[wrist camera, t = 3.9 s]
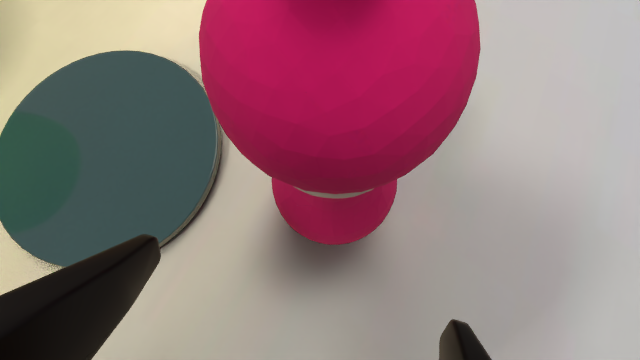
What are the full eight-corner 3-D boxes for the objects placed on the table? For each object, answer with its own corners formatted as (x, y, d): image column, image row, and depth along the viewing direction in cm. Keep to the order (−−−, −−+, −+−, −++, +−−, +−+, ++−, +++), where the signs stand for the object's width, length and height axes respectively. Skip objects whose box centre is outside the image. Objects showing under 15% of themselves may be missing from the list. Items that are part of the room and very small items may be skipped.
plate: (259, 199, 23) (255, 195, 22) (37, 313, 21) (20, 316, 20) (177, 28, 27) (170, 17, 26) (-14, 114, 25) (-31, 107, 24)
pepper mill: (264, 188, 23) (-104, -196, 4) (341, 131, 24) (381, -426, 4) (324, 268, 21) (250, 369, 2) (404, 205, 22) (895, -161, 3)
